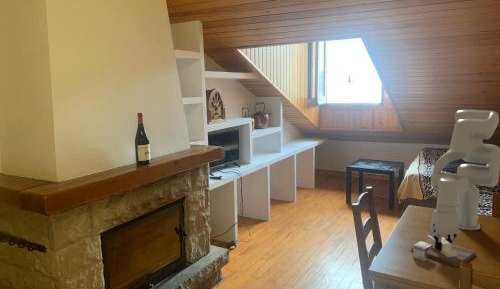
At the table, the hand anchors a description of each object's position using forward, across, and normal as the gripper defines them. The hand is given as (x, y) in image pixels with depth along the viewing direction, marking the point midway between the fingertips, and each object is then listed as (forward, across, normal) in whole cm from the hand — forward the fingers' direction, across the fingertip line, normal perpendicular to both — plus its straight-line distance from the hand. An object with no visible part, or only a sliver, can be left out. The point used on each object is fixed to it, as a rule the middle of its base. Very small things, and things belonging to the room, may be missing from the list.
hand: (443, 248), depth 161 cm
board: (+3, -1, -1) cm, 3 cm away
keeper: (+3, +10, 0) cm, 10 cm away
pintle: (+1, 0, -5) cm, 5 cm away
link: (+1, 0, -1) cm, 1 cm away
